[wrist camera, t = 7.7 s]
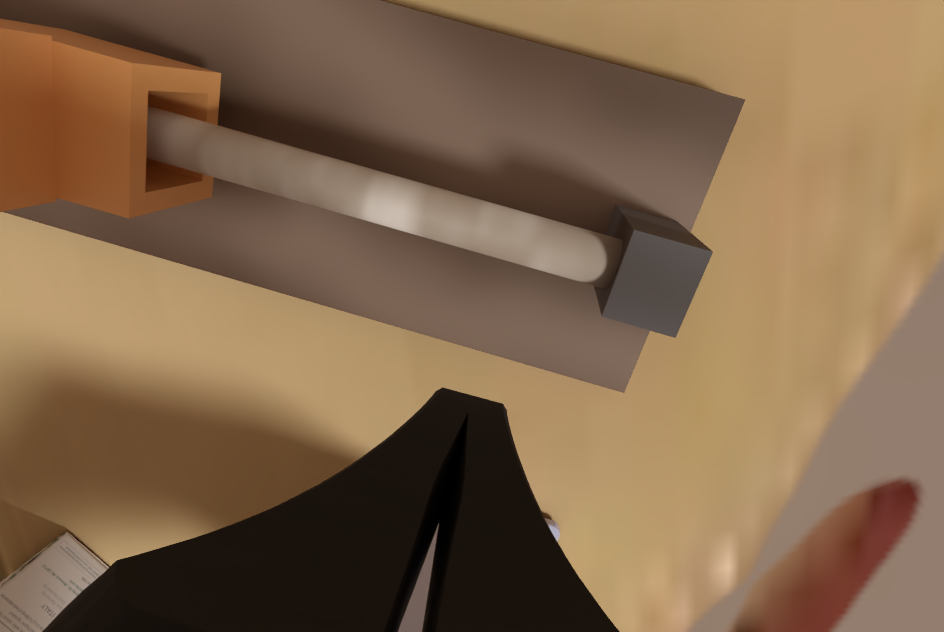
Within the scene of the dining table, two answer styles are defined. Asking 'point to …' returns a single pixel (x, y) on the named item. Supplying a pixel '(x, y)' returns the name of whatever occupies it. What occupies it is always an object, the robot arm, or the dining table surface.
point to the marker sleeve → (93, 122)
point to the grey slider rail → (423, 173)
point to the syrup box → (47, 584)
